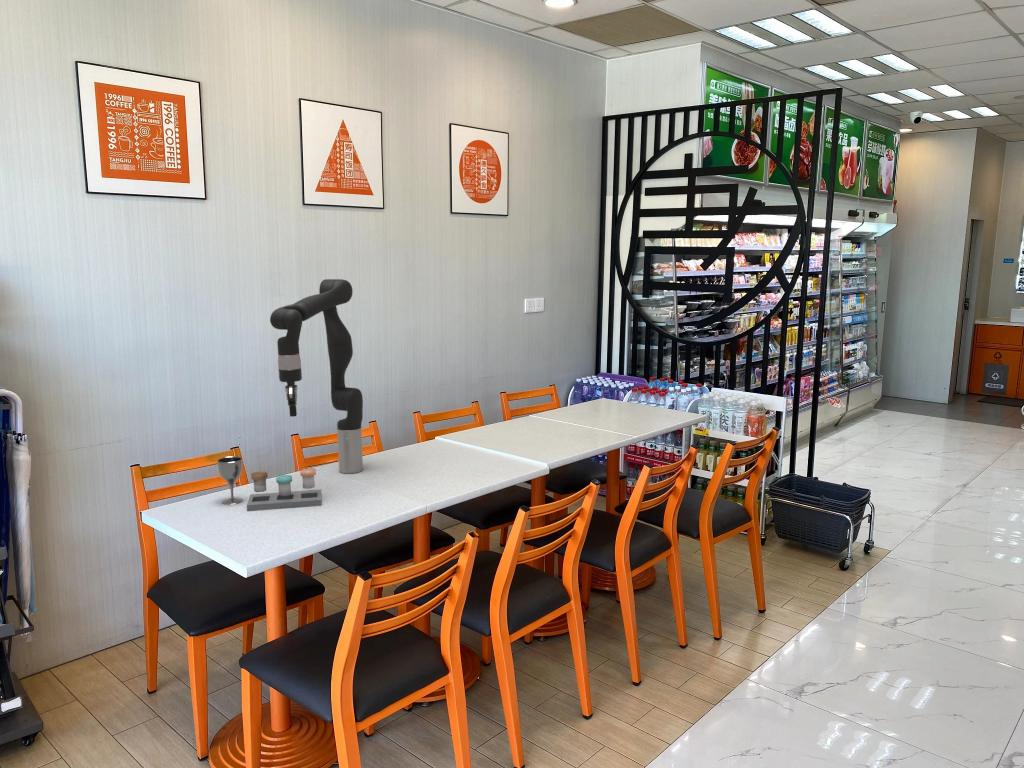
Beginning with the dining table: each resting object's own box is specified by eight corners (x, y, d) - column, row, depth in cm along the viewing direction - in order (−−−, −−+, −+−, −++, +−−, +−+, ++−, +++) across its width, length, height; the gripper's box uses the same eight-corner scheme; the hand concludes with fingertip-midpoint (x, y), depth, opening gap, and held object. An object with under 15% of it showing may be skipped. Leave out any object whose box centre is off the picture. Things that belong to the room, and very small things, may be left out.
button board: (250, 499, 268) (250, 494, 267) (321, 494, 273) (321, 489, 273) (247, 511, 256) (246, 505, 256) (321, 505, 262) (320, 499, 261)
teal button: (277, 492, 266) (276, 475, 265) (293, 491, 267) (292, 474, 266) (276, 496, 261) (275, 479, 260) (292, 495, 262) (291, 478, 261)
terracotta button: (301, 485, 268) (300, 468, 267) (316, 484, 269) (315, 467, 268) (300, 489, 263) (299, 472, 262) (316, 488, 264) (315, 471, 263)
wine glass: (216, 504, 263) (212, 462, 261) (227, 497, 271) (224, 456, 268) (237, 505, 262) (235, 462, 260) (248, 498, 270) (246, 456, 267)
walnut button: (253, 488, 264) (252, 471, 263) (268, 487, 265) (267, 470, 264) (251, 493, 259) (250, 476, 258) (267, 492, 260) (266, 475, 259)
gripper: (279, 364, 270) (283, 412, 273) (277, 371, 257) (281, 421, 260) (301, 363, 271) (305, 411, 275) (300, 369, 259) (304, 419, 262)
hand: (293, 415), depth 268 cm, fingers closed
